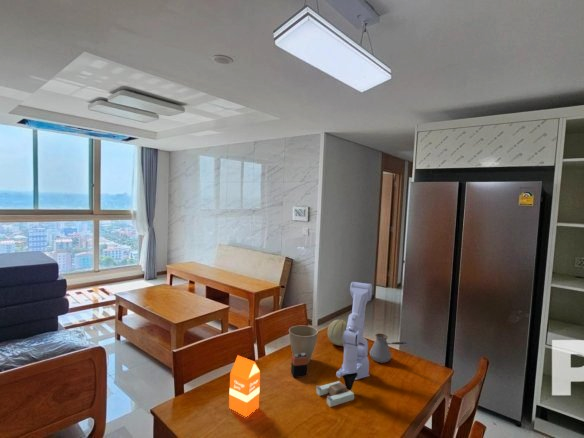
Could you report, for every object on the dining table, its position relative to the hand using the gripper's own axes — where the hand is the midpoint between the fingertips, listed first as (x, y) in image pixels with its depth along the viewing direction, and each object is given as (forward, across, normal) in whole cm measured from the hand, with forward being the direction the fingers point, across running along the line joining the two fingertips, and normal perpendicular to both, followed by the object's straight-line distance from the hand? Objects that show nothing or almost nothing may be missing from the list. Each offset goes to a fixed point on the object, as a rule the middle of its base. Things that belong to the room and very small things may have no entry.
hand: (348, 388), depth 137 cm
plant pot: (+2, 0, -32) cm, 32 cm away
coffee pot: (+2, -37, -6) cm, 37 cm away
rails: (+1, +7, -1) cm, 7 cm away
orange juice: (+2, +43, -15) cm, 46 cm away
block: (+2, +6, -1) cm, 6 cm away
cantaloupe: (+2, -31, -35) cm, 47 cm away
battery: (+2, +9, -23) cm, 25 cm away
